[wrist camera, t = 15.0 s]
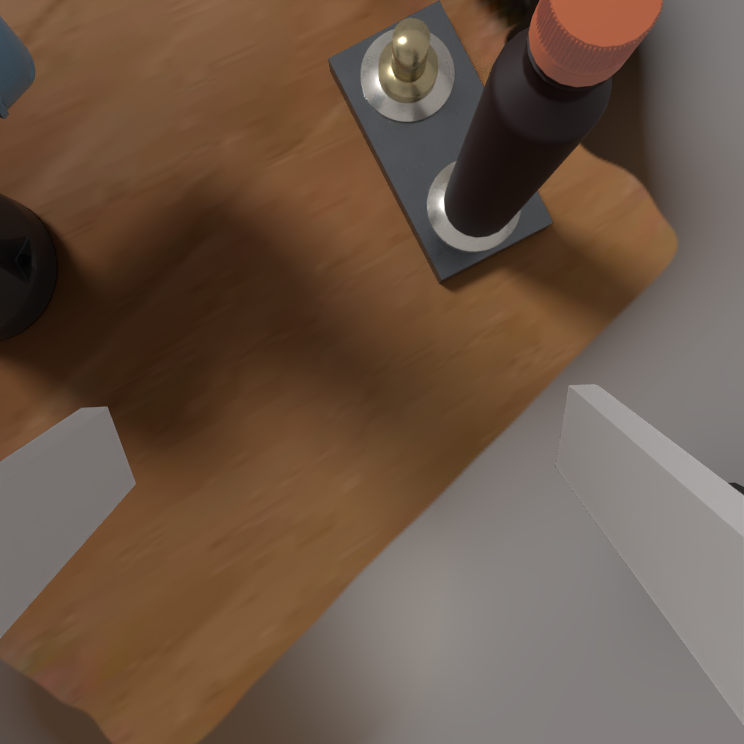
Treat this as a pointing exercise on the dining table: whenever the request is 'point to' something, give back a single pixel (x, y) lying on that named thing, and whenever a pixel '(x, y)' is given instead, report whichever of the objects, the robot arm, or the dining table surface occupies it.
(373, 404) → the dining table surface
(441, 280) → the plate
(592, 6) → the vinegar
